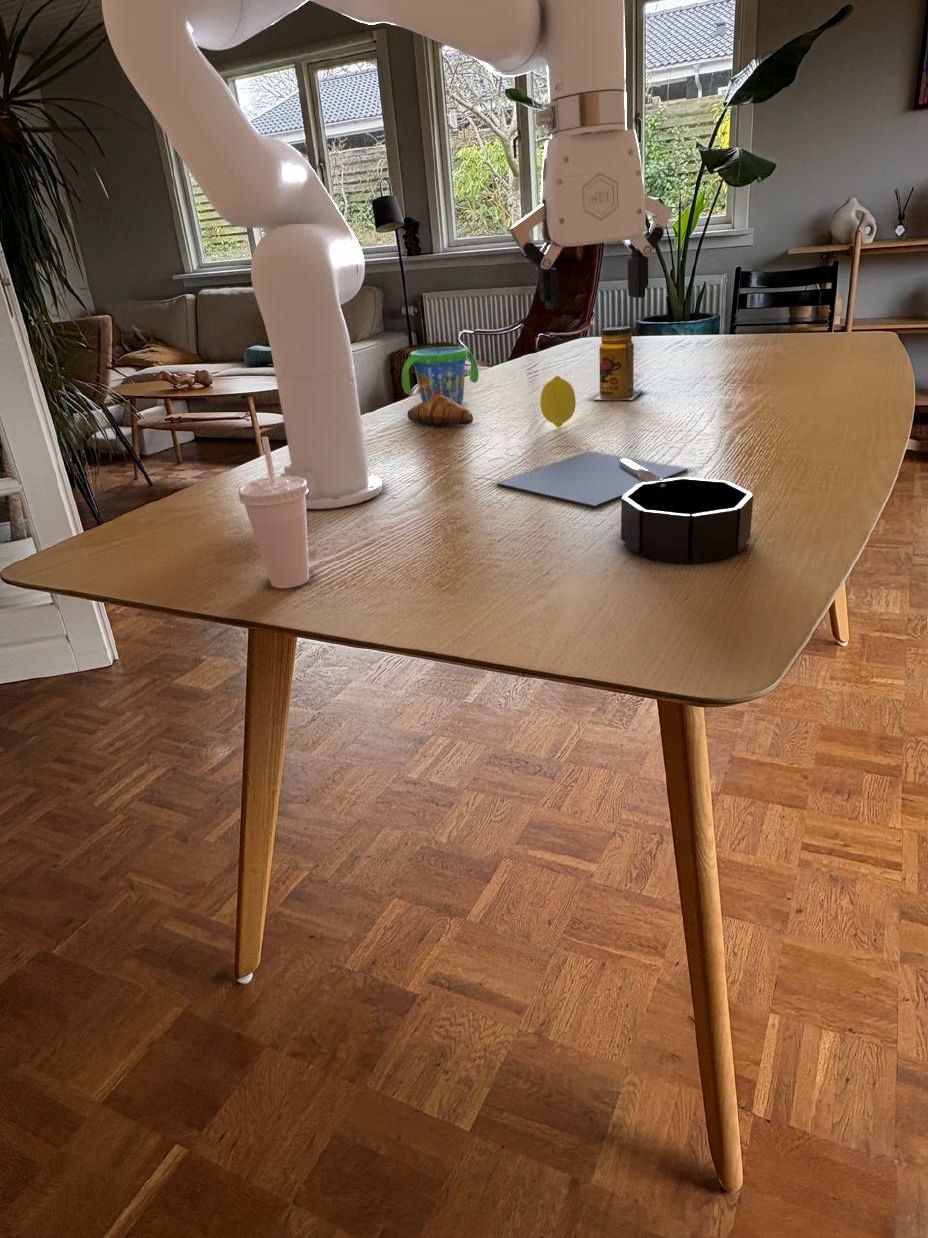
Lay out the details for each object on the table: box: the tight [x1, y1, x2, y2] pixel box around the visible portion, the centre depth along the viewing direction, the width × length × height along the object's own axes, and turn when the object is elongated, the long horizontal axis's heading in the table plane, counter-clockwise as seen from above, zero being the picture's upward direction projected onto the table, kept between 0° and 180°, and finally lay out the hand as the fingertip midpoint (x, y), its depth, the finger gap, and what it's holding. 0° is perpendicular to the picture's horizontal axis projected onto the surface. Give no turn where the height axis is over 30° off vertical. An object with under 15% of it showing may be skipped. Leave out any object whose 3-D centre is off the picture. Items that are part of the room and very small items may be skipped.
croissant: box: [407, 394, 474, 426], centre depth 138 cm, size 14×7×5 cm, turn 54°
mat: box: [497, 451, 688, 509], centre depth 102 cm, size 18×16×1 cm
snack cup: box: [401, 346, 480, 406], centre depth 150 cm, size 16×10×10 cm
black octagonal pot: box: [619, 457, 754, 565], centre depth 84 cm, size 22×12×5 cm, turn 13°
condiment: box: [593, 325, 645, 401], centre depth 145 cm, size 7×8×12 cm
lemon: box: [539, 375, 577, 428], centre depth 128 cm, size 6×6×8 cm
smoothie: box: [237, 436, 310, 589], centre depth 76 cm, size 6×6×14 cm
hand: (594, 302), depth 88 cm, fingers open, 9 cm apart
